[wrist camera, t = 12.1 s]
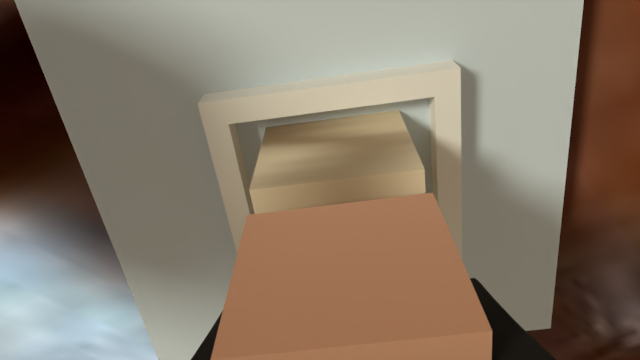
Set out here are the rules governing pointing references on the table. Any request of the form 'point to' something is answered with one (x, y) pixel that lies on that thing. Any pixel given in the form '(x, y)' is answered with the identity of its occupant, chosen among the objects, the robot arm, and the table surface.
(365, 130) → the maple cube
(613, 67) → the table surface
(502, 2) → the board
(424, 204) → the tan cube
